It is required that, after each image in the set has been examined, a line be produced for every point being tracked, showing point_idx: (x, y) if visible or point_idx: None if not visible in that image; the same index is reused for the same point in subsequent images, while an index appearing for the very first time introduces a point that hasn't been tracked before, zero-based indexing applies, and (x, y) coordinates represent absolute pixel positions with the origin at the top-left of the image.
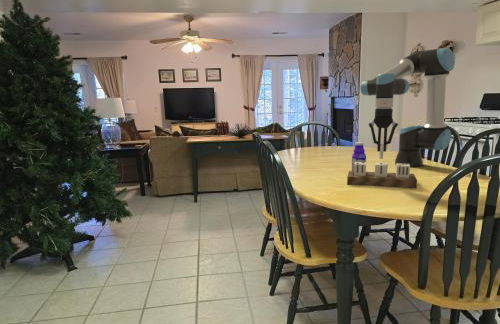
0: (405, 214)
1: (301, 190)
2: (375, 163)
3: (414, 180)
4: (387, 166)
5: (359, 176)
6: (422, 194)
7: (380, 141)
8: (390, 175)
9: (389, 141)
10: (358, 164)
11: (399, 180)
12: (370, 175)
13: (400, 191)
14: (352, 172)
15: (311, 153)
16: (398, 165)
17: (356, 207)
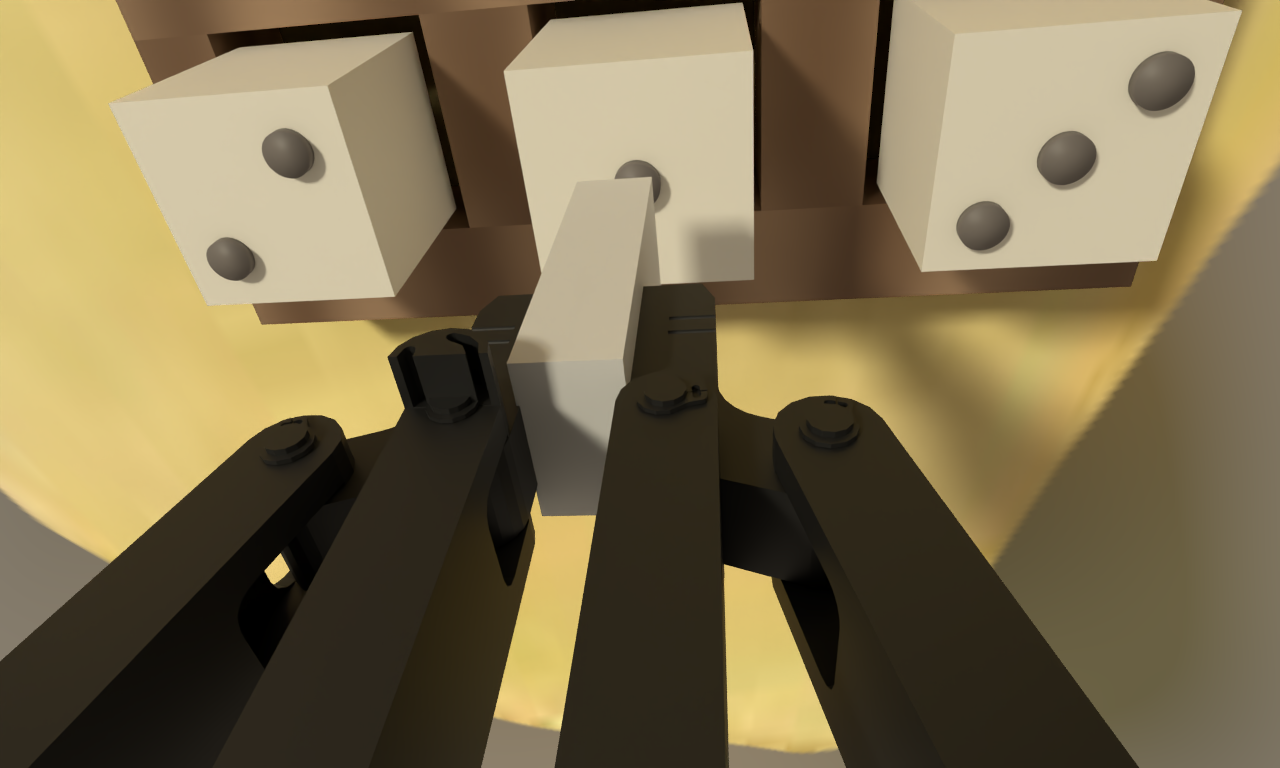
0: (820, 746)
1: (75, 525)
2: (525, 160)
3: (1093, 284)
4: (751, 269)
5: None
6: (1062, 413)
7: (516, 603)
8: (801, 90)
9: (828, 606)
10: (275, 299)
11: (897, 289)
12: (510, 178)
13: (869, 370)
14: (195, 40)
15: None
16: (950, 245)
17: (562, 713)
